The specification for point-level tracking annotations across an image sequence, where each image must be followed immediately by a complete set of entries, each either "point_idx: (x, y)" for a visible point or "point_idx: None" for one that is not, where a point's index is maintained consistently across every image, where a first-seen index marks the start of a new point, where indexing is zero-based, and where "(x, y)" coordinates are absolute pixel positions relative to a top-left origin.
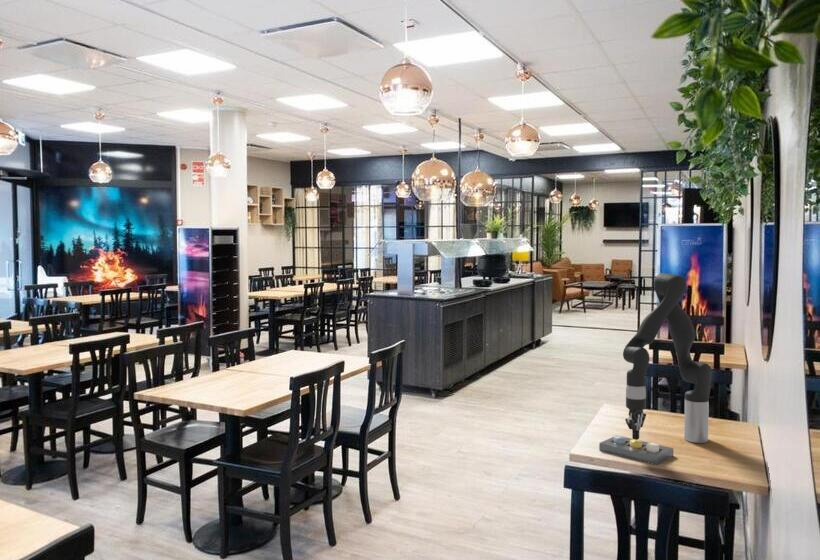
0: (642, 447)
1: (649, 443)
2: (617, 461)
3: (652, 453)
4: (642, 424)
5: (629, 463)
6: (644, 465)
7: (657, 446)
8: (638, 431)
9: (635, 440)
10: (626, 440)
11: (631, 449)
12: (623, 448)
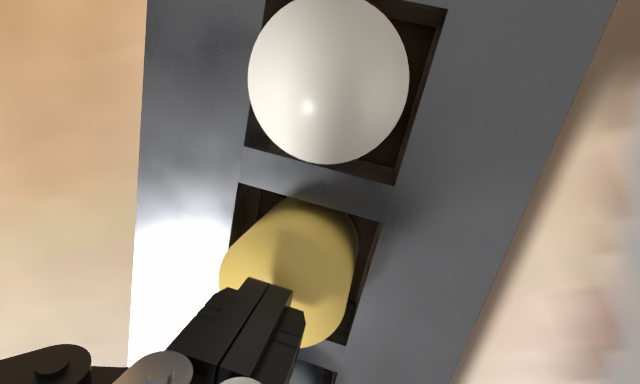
0: (318, 200)
1: (279, 138)
2: (595, 333)
3: (490, 49)
4: (6, 380)
5: (615, 238)
6: (627, 101)
7: (352, 6)
8: (223, 352)
9: None
10: None
11: (445, 287)
12: (446, 356)
